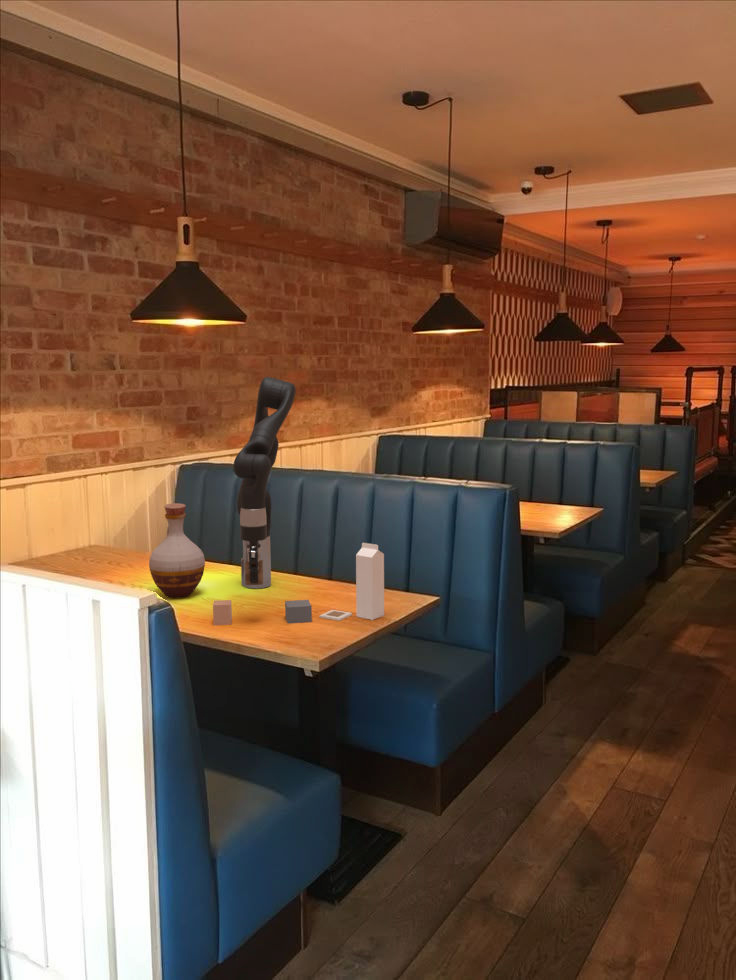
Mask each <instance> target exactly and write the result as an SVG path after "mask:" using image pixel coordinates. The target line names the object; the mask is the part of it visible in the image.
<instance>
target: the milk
mask: <svg viewBox="0 0 736 980" xmlns="http://www.w3.org/2000/svg"><path fill="white" fill-rule="evenodd" d="M355 580H356V582H355V583H356V584H355V590H356V592H355V593H356V594H355V595H356V597H355V600H356V603H355V604H356V607H355V608H356V617H357V618H361V619H366V620H369V619H370V621H374V620H376V619H379V618H382V617H384V616H385V553H383V552H382V551H380V550H379V544H374V543H368V542H362V543H361V548H360V549H359V550H358V551H357V553H356V555H355Z"/></svg>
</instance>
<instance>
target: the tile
mask: <svg viewBox="0 0 736 980" xmlns="http://www.w3.org/2000/svg"><path fill="white" fill-rule="evenodd" d="M352 615H353V612H348V611H342V610H335V609H331V610H329V611H326V612H325V613H322V614H320V615H319V618H320V619H327V620H332V621H337V622H338V621H343V620H345V619H347V618H348V617H351V616H352Z"/></svg>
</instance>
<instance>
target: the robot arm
mask: <svg viewBox="0 0 736 980" xmlns="http://www.w3.org/2000/svg"><path fill="white" fill-rule="evenodd" d="M296 391H297V389H296V386H295V384H294V383H292V382H289V381H286V380H282V379H277V378H274V377H270V376H265V377H264V378H262V380H261V381H260V385H259V388H258V394H257V400H256V408H255V409H256V410H255V415H254V416H255V417H254V422H253V427H252V428H253V429H252V431H251V434H250V436H249V440H248V442H247V443H246V444H245V445H244V446H243V448H241V450H240V451H239V452H238V454H237V455H236V456H235V459H234V461H233V467H232V468H233V469H232V470H233V473H234V475H235V476H236V477H237V478H239V479H242V480H241V484H240V487H239V490H238V493H237V499H236V510H237V513H238V515H239V520H240V521H239V523H240V525H239V526H240V527H239V530H240V534H239V535H240V537H239V538H240V539H241V541H242V555H243V557H241V559H240V571H241V575H240V576H241V586H243V587H245V588H247V589H264V588H269V587H271V586H272V563H271V561H272V560H271V559H272V558H271V528H272V497H271V493H270V491H269V490H268V489H267V486H268V485H267V484H268V481H269V478H270V474H271V472H272V471H271V470H272V467H274V464H275V462H276V460H277V459H276V458H277V456H278V455H277V454H278V450H279V439H278V436H277V435H278V433H279V431H280V429H281V428H282V426H283V424H284V422H285V420H286V418H287V416H288V415H289V412H290V411H291V410H292V409H291V408H292V407H293V404H294V402H295V401H294V400H295V398H296ZM268 409H273V410H275V412H273V413H271V414H270V415H269V410H268ZM260 560H263V585H245V562H246V561H248V562H249V570H250V582H251V583H258V569H259V567H258V562H260ZM251 563H256V565H255V566H251Z"/></svg>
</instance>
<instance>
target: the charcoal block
mask: <svg viewBox="0 0 736 980" xmlns="http://www.w3.org/2000/svg"><path fill="white" fill-rule="evenodd" d="M312 610H313V609H312V604H311V602H310V601H309V599H300V600H299V599H298V600H295V599H294V600H284V612H285V620H286V623H287V624H288V625H289V624H290V625H291V624H303V623H304V624H305V623H312V622H313V619H312V617H313V616H312V615H313V613H312Z"/></svg>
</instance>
